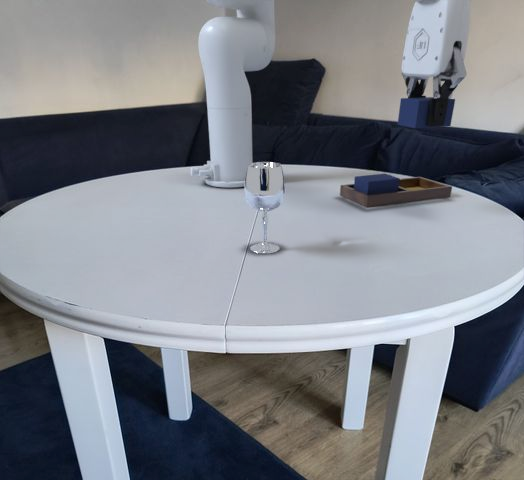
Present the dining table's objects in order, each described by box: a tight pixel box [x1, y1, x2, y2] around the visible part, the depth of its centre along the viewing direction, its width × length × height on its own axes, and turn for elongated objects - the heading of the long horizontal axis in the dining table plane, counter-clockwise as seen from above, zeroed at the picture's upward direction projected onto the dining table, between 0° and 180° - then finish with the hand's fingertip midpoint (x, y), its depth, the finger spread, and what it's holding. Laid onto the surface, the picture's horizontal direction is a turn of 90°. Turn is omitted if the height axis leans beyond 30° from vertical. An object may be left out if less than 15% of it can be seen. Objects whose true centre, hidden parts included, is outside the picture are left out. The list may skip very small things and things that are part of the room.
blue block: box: [353, 173, 401, 195], centre depth 95 cm, size 7×5×4 cm
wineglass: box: [243, 161, 286, 255], centre depth 70 cm, size 6×6×12 cm
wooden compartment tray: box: [339, 176, 453, 208], centre depth 97 cm, size 10×19×3 cm, turn 112°
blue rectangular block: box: [397, 96, 456, 129], centre depth 80 cm, size 7×5×4 cm
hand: (423, 122), depth 81 cm, fingers closed on blue rectangular block, 5 cm apart
